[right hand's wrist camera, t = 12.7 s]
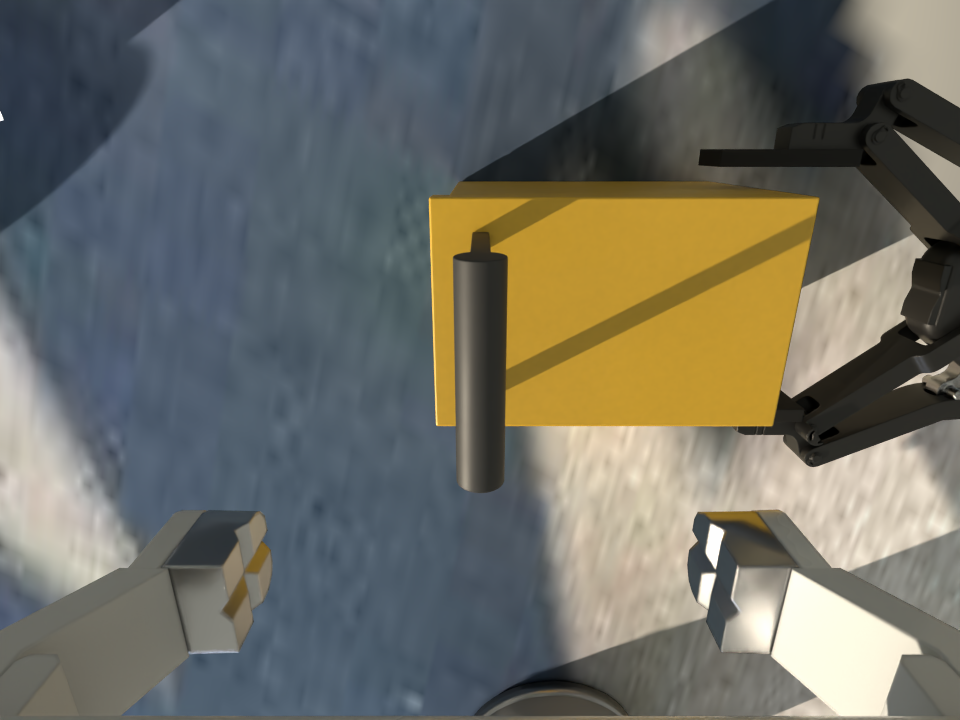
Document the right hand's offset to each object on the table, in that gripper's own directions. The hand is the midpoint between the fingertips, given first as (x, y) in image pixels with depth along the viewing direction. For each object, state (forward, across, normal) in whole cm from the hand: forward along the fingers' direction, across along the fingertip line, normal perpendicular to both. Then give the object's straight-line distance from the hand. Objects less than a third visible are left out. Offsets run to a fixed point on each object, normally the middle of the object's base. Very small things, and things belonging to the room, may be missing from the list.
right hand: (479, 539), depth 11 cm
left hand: (+20, +11, 0) cm, 23 cm away
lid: (+16, +6, 0) cm, 17 cm away
